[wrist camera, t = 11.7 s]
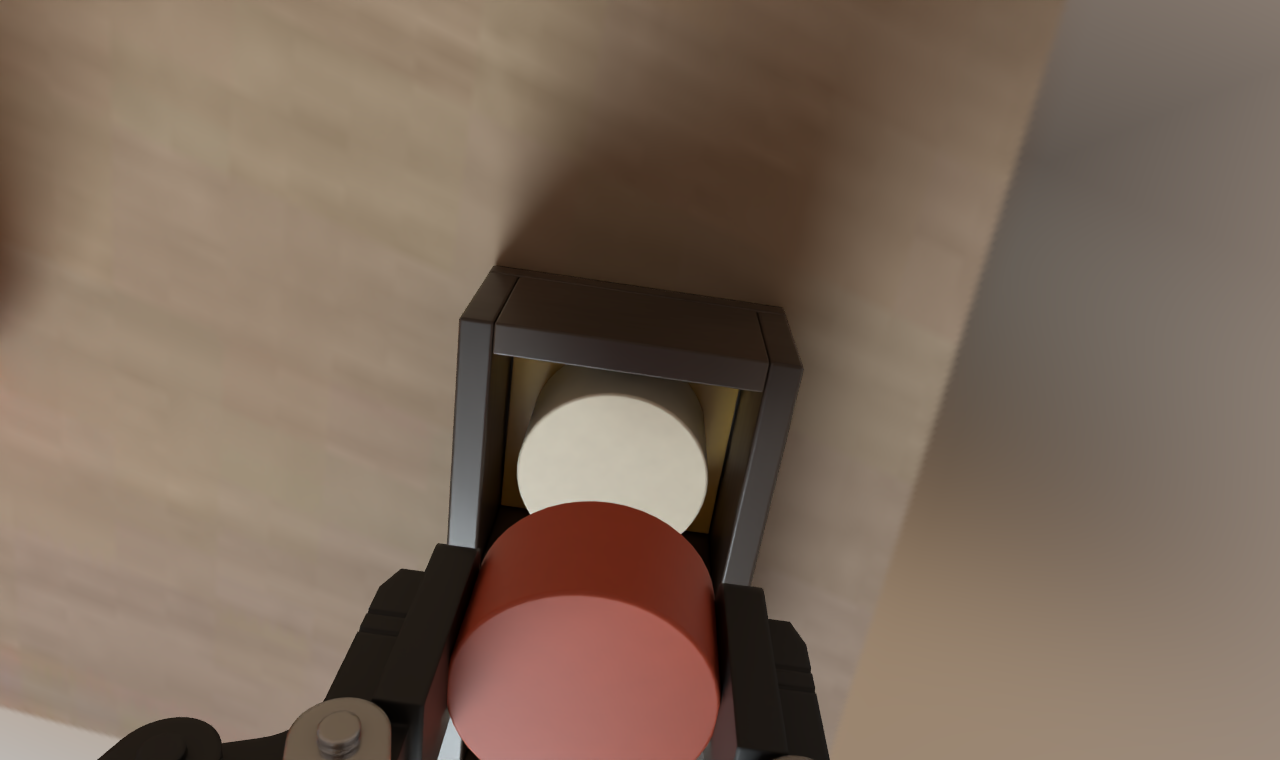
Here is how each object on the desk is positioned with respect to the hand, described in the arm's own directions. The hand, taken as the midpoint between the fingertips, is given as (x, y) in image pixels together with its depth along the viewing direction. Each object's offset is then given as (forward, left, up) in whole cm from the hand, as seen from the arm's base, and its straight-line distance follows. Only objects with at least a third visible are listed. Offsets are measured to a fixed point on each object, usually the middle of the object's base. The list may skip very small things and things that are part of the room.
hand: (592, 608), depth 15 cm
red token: (0, 0, 0) cm, 0 cm away
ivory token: (0, 0, -7) cm, 7 cm away
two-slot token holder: (+2, +2, -7) cm, 8 cm away
